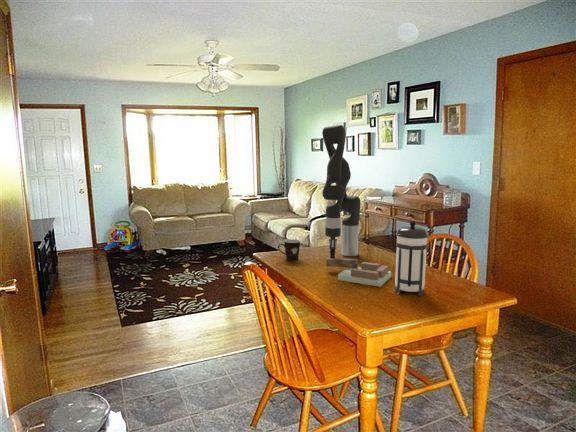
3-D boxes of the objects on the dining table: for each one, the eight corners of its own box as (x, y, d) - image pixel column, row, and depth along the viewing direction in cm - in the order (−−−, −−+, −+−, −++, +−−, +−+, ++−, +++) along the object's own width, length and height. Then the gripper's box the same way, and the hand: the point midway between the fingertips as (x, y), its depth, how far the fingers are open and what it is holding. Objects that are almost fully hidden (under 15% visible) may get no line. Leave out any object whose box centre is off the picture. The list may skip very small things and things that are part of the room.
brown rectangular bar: (357, 266, 211) (358, 259, 211) (357, 267, 208) (357, 260, 208) (326, 264, 214) (326, 257, 213) (326, 266, 211) (326, 259, 210)
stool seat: (350, 270, 213) (351, 259, 213) (391, 276, 204) (391, 265, 203) (337, 279, 199) (338, 268, 198) (380, 286, 189) (381, 274, 188)
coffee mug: (300, 257, 239) (300, 239, 237) (299, 261, 230) (299, 242, 229) (279, 256, 240) (279, 238, 238) (277, 260, 232) (277, 242, 230)
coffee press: (382, 288, 187) (384, 219, 182) (412, 284, 193) (415, 217, 188) (408, 301, 171) (411, 226, 167) (439, 296, 178) (444, 224, 173)
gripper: (325, 223, 218) (325, 256, 222) (325, 228, 206) (324, 264, 209) (340, 223, 218) (339, 257, 221) (341, 229, 205) (340, 264, 208)
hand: (332, 260), depth 215 cm, fingers closed
